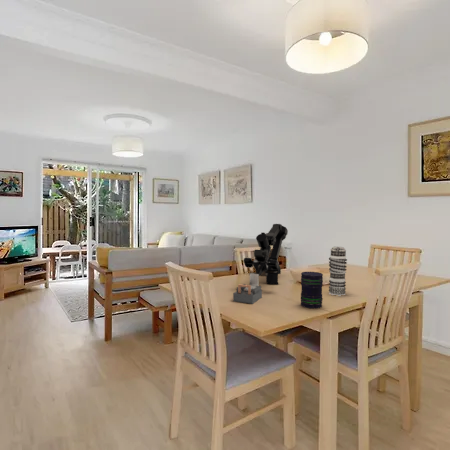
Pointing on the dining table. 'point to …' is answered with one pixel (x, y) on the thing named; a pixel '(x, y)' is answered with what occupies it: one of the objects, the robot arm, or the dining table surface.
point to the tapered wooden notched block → (253, 281)
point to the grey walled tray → (247, 295)
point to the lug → (244, 286)
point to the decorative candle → (337, 271)
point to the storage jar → (311, 289)
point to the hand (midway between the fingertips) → (256, 276)
